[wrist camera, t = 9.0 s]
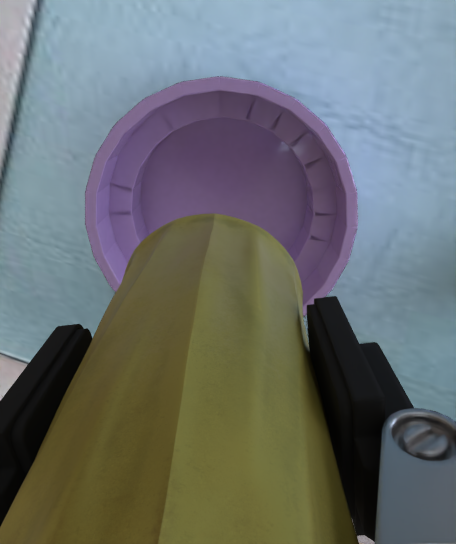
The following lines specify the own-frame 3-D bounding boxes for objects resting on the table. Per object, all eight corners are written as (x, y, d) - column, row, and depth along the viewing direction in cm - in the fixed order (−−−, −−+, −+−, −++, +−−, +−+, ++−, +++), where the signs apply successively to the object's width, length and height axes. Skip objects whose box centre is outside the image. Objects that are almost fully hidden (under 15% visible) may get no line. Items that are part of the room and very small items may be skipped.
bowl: (88, 98, 25) (50, 100, 20) (331, 63, 24) (355, 56, 19) (139, 310, 31) (119, 353, 26) (338, 288, 30) (359, 329, 25)
